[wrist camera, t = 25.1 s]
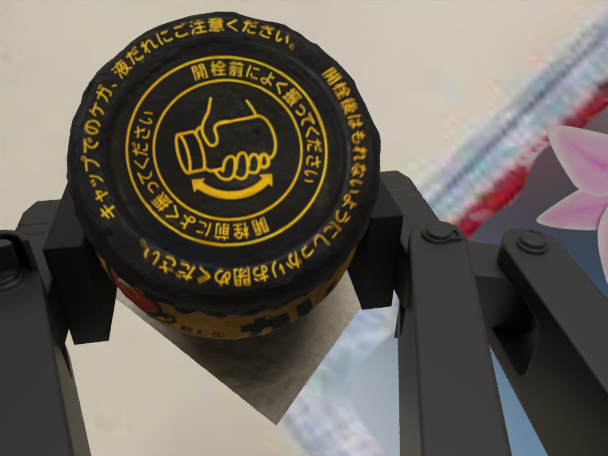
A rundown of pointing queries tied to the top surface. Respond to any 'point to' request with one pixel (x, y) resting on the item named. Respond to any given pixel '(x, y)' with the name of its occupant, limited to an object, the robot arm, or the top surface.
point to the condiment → (229, 195)
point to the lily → (582, 184)
